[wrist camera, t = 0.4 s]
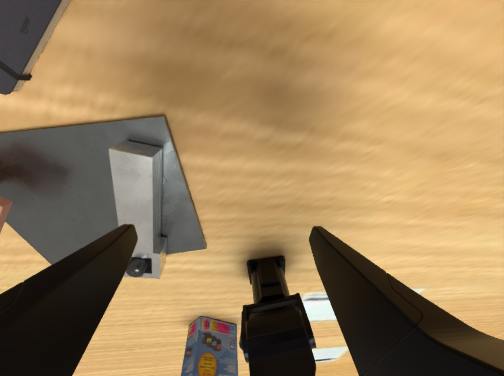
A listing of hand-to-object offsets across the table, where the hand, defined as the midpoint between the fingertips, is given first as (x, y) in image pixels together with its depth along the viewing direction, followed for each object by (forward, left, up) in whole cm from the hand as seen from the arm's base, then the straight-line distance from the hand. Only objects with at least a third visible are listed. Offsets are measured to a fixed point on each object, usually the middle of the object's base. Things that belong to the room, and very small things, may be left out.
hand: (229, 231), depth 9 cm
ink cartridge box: (-41, +10, -13) cm, 44 cm away
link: (-7, +12, -12) cm, 18 cm away
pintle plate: (-5, +17, -13) cm, 22 cm away
